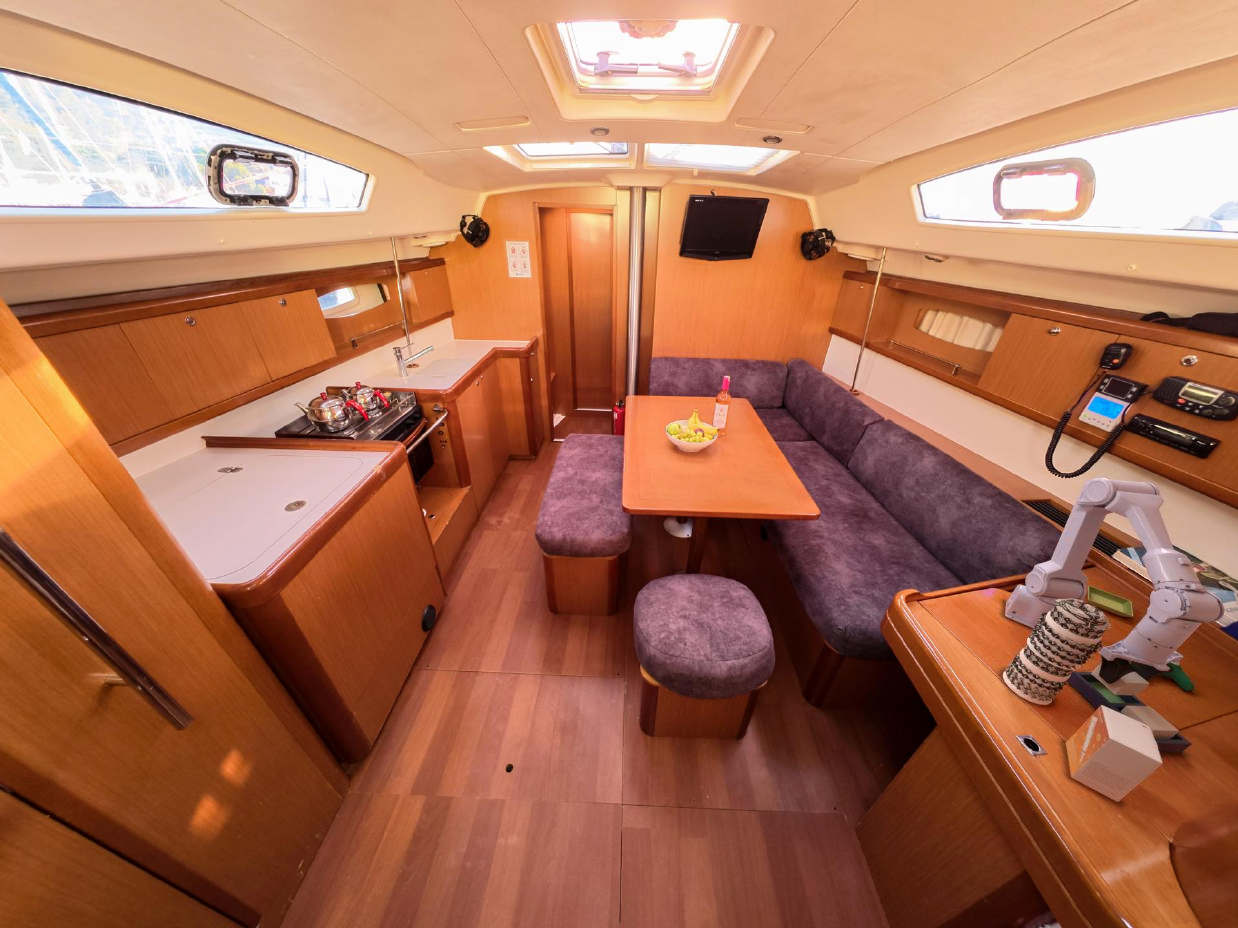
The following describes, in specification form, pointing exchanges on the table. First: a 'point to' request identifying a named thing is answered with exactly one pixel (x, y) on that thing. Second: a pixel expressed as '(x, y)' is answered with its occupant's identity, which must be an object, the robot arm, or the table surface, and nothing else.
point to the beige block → (1151, 721)
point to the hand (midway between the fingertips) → (1117, 679)
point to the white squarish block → (1124, 683)
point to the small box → (1112, 753)
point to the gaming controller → (1180, 677)
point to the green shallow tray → (1110, 602)
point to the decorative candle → (1056, 650)
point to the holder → (1119, 706)
